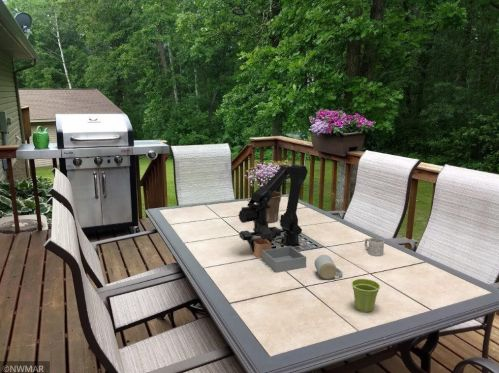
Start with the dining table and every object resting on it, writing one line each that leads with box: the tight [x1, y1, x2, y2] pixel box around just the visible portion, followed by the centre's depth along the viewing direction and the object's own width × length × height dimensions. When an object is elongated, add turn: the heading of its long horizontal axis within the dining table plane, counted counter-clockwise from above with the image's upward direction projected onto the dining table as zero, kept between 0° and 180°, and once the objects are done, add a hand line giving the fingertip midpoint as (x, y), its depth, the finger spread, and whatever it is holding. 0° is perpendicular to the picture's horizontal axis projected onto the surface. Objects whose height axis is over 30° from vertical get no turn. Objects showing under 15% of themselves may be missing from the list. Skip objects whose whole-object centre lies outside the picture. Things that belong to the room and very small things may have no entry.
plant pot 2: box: [351, 278, 381, 313], centre depth 134 cm, size 9×9×9 cm
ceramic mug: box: [314, 254, 344, 280], centre depth 160 cm, size 11×8×8 cm
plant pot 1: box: [255, 190, 283, 224], centre depth 233 cm, size 16×16×16 cm
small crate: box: [249, 236, 272, 259], centre depth 183 cm, size 7×9×6 cm
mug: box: [364, 237, 385, 257], centre depth 184 cm, size 10×7×7 cm, turn 31°
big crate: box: [261, 245, 307, 274], centre depth 172 cm, size 14×14×5 cm
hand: (260, 251), depth 184 cm, fingers closed on small crate, 7 cm apart
